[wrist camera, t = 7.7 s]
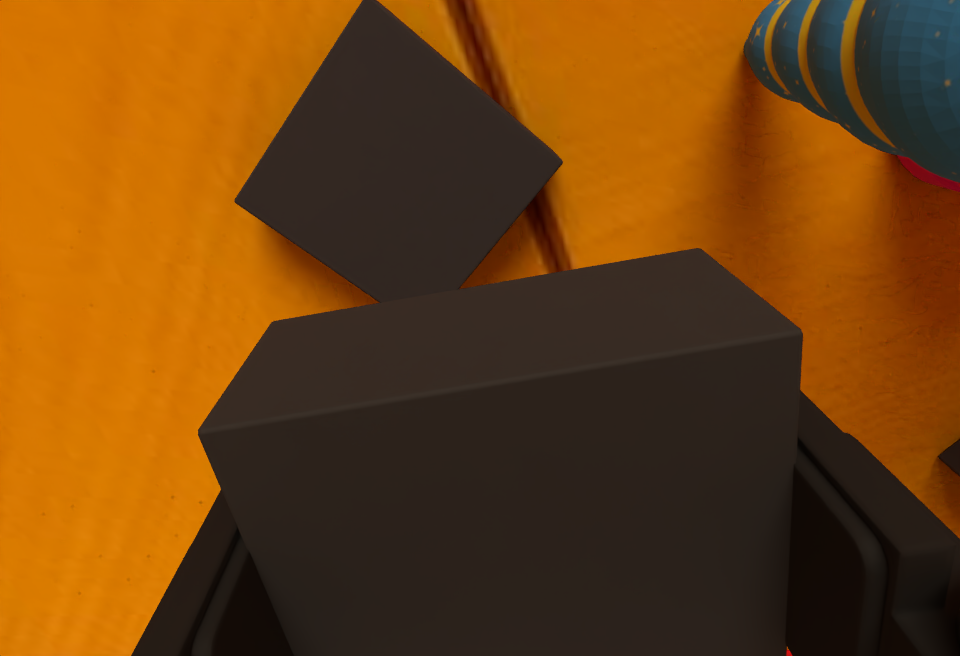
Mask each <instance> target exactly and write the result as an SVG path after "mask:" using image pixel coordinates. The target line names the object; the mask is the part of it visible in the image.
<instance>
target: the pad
mask: <svg viewBox="0 0 960 656" xmlns="http://www.w3.org/2000/svg"><path fill="white" fill-rule="evenodd" d="M802 341H803V333H802V331H801V329H800V328H799V327H797V326H796V325H795V324H794V323H792V322H791V321H790V320H789V319H787V318H786V317H785V316H784V315H782V314H781V313H780V312H779V311H777V310H776V309H775V308H774V307H772V306H771V305H770V304H769V303H768V302H766V301H765V300H764V299H763V298H761V297H760V296H759V295H758V294H756V293H755V292H754V291H753V290H751V289H750V288H749V287H748V286H746V285H745V284H744V283H743V282H741V281H740V280H739V279H738V278H737V277H735V276H734V275H733V274H732V273H730V272H729V271H728V270H727V269H725V268H724V267H723V266H722V265H720V264H719V263H718V262H717V261H715V260H714V259H713V258H712V257H710V256H709V255H708V254H707V253H706V252H704V251H703V250H702V249H700V248H695V249H690V250H684V251H678V252H672V253H666V254H661V255H655V256H649V257H643V258H637V259H632V260H626V261H620V262H614V263H608V264H603V265H597V266H591V267H585V268H579V269H574V270H568V271H562V272H556V273H550V274H544V275H539V276H533V277H527V278H521V279H515V280H510V281H504V282H498V283H492V284H486V285H481V286H475V287H469V288H463V289H457V290H452V291H446V292H440V293H434V294H428V295H423V296H417V297H411V298H405V299H399V300H394V301H388V302H382V303H376V304H370V305H365V306H359V307H353V308H347V309H341V310H336V311H330V312H324V313H318V314H312V315H307V316H301V317H295V318H289V319H283V320H278V321H273V322H272V323H271V324H270V325H269V327H268V328H267V330H266V331H265V333H264V334H263V336H262V337H261V339H260V340H259V342H258V343H257V344H256V346H255V347H254V349H253V350H252V352H251V353H250V355H249V356H248V358H247V359H246V361H245V362H244V363H243V365H242V366H241V368H240V369H239V371H238V372H237V374H236V375H235V377H234V378H233V380H232V381H231V383H230V384H229V385H228V387H227V388H226V390H225V391H224V393H223V394H222V396H221V397H220V399H219V400H218V402H217V403H216V405H215V406H214V407H213V409H212V410H211V412H210V413H209V415H208V416H207V418H206V419H205V421H204V422H203V424H202V425H201V426H200V428H199V429H198V436H199V438H200V441H201V443H202V445H203V448H204V450H205V452H206V455H207V457H208V459H209V462H210V464H211V466H212V469H213V471H214V473H215V476H216V478H217V480H218V483H219V485H220V487H221V490H222V492H223V494H224V497H225V499H226V501H227V504H228V506H229V508H230V511H231V513H232V515H233V518H234V520H235V522H236V525H237V527H238V529H239V532H240V534H241V536H242V539H243V541H244V543H245V546H246V548H247V550H249V552H250V554H251V556H252V559H253V561H254V563H255V566H256V568H257V570H258V573H259V575H260V577H261V580H262V582H263V585H264V587H265V589H266V592H267V594H268V596H269V599H270V601H271V603H272V606H273V608H274V610H275V613H276V615H277V617H278V620H279V622H280V624H281V627H282V629H283V631H284V634H285V636H286V638H287V641H288V643H289V645H290V648H291V650H292V652H293V655H294V656H786V654H787V645H786V643H785V635H786V614H787V594H788V573H789V553H790V533H791V512H792V492H793V471H794V464H796V458H797V439H798V419H799V400H800V380H801V361H802Z"/></svg>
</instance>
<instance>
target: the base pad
mask: <svg viewBox="0 0 960 656" xmlns="http://www.w3.org/2000/svg"><path fill="white" fill-rule="evenodd" d="M562 163H563V161H562V160H561V158H560V157H559V156H558V155H557V154H556V153H555V152H554V151H553V150H552V149H551V148H549V147H548V146H547V145H546V144H545V143H543V142H542V141H541V140H540V139H539V138H538V137H536V136H535V135H534V134H533V133H532V132H531V131H529V130H528V129H527V128H526V127H525V126H524V125H522V124H521V123H520V122H519V121H518V120H517V119H515V118H514V117H513V116H512V115H511V114H510V113H508V112H507V111H506V110H505V109H504V108H502V107H501V106H500V105H499V104H498V103H497V102H495V101H494V100H493V99H492V98H491V97H490V96H488V95H487V94H486V93H485V92H484V91H483V90H481V89H480V88H479V87H478V86H477V85H476V84H474V83H473V82H472V81H471V80H470V79H468V78H467V77H466V76H465V75H464V74H463V73H461V72H460V71H459V70H458V69H457V68H456V67H454V66H453V65H452V64H451V63H450V62H449V61H447V60H446V59H445V58H444V57H443V56H442V55H440V54H439V53H438V52H437V51H436V50H435V49H433V48H432V47H431V46H430V45H429V44H427V43H426V42H425V41H424V40H423V39H422V38H420V37H419V36H418V35H417V34H416V33H415V32H413V31H412V30H411V29H410V28H409V27H408V26H406V25H405V24H404V23H403V22H402V21H401V20H399V19H398V18H397V17H396V16H395V15H393V14H392V13H391V12H390V11H389V10H388V9H386V8H385V7H384V6H383V5H382V4H381V3H379V2H378V1H377V0H363V1H362V2H361V4H360V5H359V7H358V8H357V10H356V12H355V13H354V15H353V16H352V18H351V19H350V21H349V22H348V24H347V26H346V27H345V29H344V30H343V32H342V33H341V35H340V36H339V38H338V40H337V41H336V43H335V44H334V46H333V47H332V49H331V50H330V52H329V54H328V55H327V57H326V58H325V60H324V61H323V63H322V64H321V66H320V68H319V69H318V71H317V72H316V74H315V75H314V77H313V78H312V80H311V82H310V83H309V85H308V86H307V88H306V89H305V91H304V93H303V94H302V96H301V97H300V99H299V100H298V102H297V103H296V105H295V107H294V108H293V110H292V111H291V113H290V114H289V116H288V117H287V119H286V121H285V122H284V124H283V125H282V127H281V128H280V130H279V131H278V133H277V135H276V136H275V138H274V139H273V141H272V142H271V144H270V145H269V147H268V149H267V150H266V152H265V153H264V155H263V156H262V158H261V159H260V161H259V163H258V164H257V166H256V167H255V169H254V170H253V172H252V173H251V175H250V177H249V178H248V180H247V181H246V183H245V184H244V186H243V187H242V189H241V191H240V192H239V194H238V195H237V197H236V198H235V201H234V202H235V203H236V204H238V205H239V206H241V207H242V208H244V209H245V210H246V211H248V212H249V213H251V214H252V215H254V216H255V217H257V218H258V219H259V220H261V221H262V222H264V223H265V224H267V225H268V226H270V227H271V228H273V229H274V230H275V231H277V232H278V233H280V234H281V235H283V236H284V237H286V238H287V239H288V240H290V241H291V242H293V243H294V244H296V245H297V246H299V247H300V248H302V249H303V250H304V251H306V252H307V253H309V254H310V255H312V256H313V257H315V258H316V259H317V260H319V261H320V262H322V263H323V264H325V265H326V266H328V267H329V268H331V269H332V270H333V271H335V272H336V273H338V274H339V275H341V276H342V277H344V278H345V279H346V280H348V281H349V282H351V283H352V284H354V285H355V286H357V287H358V288H360V289H361V290H362V291H364V292H365V293H367V294H368V295H370V296H371V297H373V298H374V299H375V300H377V301H378V302H380V303H382V302H388V301H394V300H399V299H405V298H411V297H417V296H423V295H428V294H434V293H440V292H446V291H452V290H457V289H459V288H460V287H461V286H462V284H463V283H464V282H465V281H466V280H467V278H468V277H469V276H470V275H471V274H472V272H473V271H474V270H475V269H476V268H477V266H478V265H479V264H480V263H481V262H482V260H483V259H484V258H485V257H486V255H487V254H488V253H489V252H490V251H491V249H492V248H493V247H494V246H495V245H496V243H497V242H498V241H499V240H500V239H501V237H502V236H503V235H504V234H505V233H506V231H507V230H508V229H509V228H510V226H511V225H512V224H513V223H514V222H515V220H516V219H517V218H518V217H519V216H520V214H521V213H522V212H523V211H524V210H525V208H526V207H527V206H528V205H529V203H530V202H531V201H532V200H533V199H534V197H535V196H536V195H537V194H538V193H539V191H540V190H541V189H542V188H543V187H544V185H545V184H546V183H547V182H548V181H549V179H550V178H551V177H552V176H553V174H554V173H555V172H556V171H557V170H558V168H559V167H560V166H561V165H562Z"/></svg>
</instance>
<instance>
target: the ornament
mask: <svg viewBox="0 0 960 656" xmlns="http://www.w3.org/2000/svg"><path fill="white" fill-rule="evenodd" d="M744 54H745V56H746V58H747V60H748V62H749V65H750V67H751V69H752V70H753V72H754V74H755V76H756V77H757V78H758V79H759V81H760V82H761V83H762V84H763V85H764V86H765V87H766V88H768V89H769V90H770V91H772V92H773V93H775V94H777V95H779V96H780V97H782V98H784V99H788V100H791V101H794V102H798V103H801V104H802V105H803V106H804V107H806V108H807V109H808V110H810V111H812V112H813V113H815V114H817V115H818V116H820V117H822V118H825V119H827V120H830V121H833V122H836V123H839V124H840V125H841V126H842V127H843V128H844V129H846V130H847V131H848V132H850V133H851V134H852V135H854V136H855V137H856V138H858V139H859V140H860V141H862V142H863V143H865V144H867V145H870V146H872V147H874V148H876V149H878V150H880V151H883V152H886V153H890V154H894V155H899V156H903V157H908V158H910V159H911V160H912V161H914V162H915V163H916V164H918V165H919V166H921V167H923V168H924V169H926V170H928V171H929V172H931V173H934V174H936V175H938V176H940V177H943V178H946V179H949V180H952V181H955V182H958V183H960V0H774V1H772V2H771V3H770V4H769V5H768V6H767V7H766V8H765V9H764V10H763V11H762V12H761V14H760V15H759V17H758V18H757V20H756V21H755V23H754V25H753V27H752V29H751V32H750V34H749V37H748V39H747V40H746V42H745V45H744Z"/></svg>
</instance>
